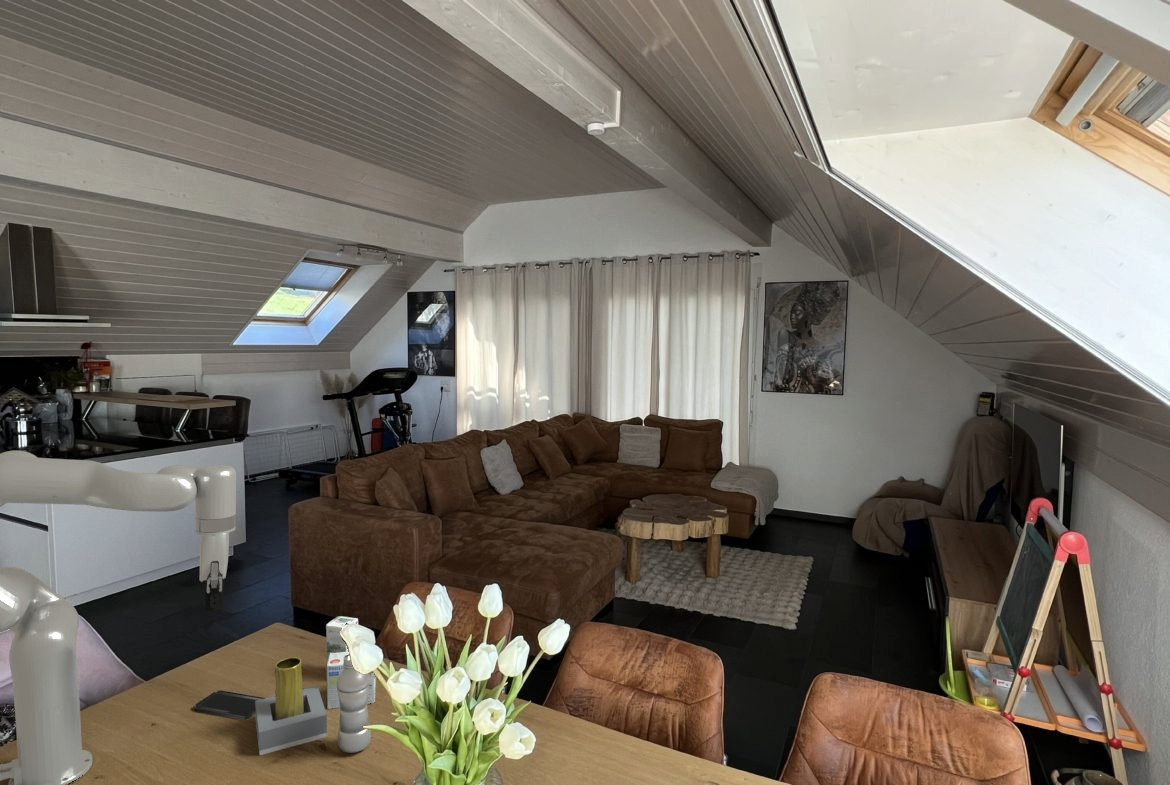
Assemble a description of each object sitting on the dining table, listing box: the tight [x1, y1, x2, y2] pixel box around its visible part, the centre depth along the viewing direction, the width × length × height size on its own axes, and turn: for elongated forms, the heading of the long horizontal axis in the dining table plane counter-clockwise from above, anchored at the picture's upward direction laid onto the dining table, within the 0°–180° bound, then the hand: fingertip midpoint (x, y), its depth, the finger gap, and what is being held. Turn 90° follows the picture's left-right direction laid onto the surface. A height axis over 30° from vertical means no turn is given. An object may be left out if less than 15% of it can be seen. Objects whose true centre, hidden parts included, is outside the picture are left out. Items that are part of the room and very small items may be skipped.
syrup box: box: [325, 615, 359, 663], centre depth 164 cm, size 6×6×14 cm
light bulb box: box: [326, 651, 377, 710], centre depth 154 cm, size 11×7×11 cm, turn 106°
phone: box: [193, 690, 266, 721], centre depth 150 cm, size 8×1×15 cm
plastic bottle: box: [336, 654, 372, 754], centre depth 136 cm, size 6×7×20 cm
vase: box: [274, 656, 304, 721], centre depth 141 cm, size 6×6×14 cm
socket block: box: [255, 685, 328, 756], centre depth 142 cm, size 13×13×5 cm
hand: (214, 601), depth 140 cm, fingers open, 9 cm apart
